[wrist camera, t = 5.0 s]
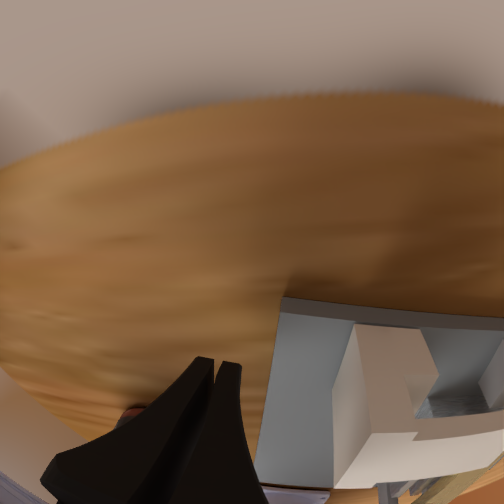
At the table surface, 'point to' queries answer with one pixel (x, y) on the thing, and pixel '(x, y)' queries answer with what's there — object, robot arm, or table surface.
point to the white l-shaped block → (400, 415)
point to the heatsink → (439, 409)
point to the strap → (452, 486)
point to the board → (326, 370)
